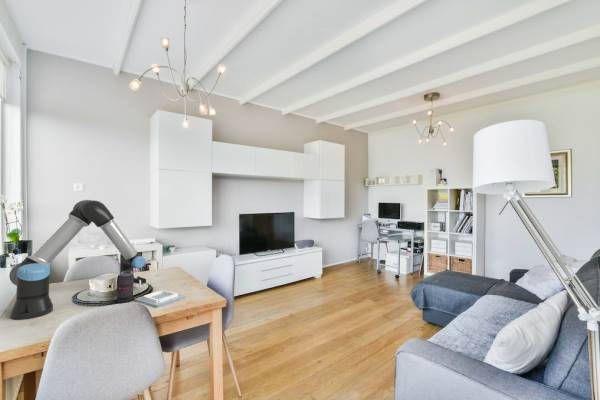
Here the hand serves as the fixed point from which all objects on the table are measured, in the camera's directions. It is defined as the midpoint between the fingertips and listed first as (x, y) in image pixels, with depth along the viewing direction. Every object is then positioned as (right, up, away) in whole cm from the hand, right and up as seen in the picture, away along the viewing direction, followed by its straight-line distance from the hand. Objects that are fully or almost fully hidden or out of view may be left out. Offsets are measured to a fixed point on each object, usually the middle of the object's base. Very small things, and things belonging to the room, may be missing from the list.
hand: (126, 286), depth 158 cm
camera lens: (-1, -8, -1) cm, 8 cm away
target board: (+17, -8, +3) cm, 20 cm away
